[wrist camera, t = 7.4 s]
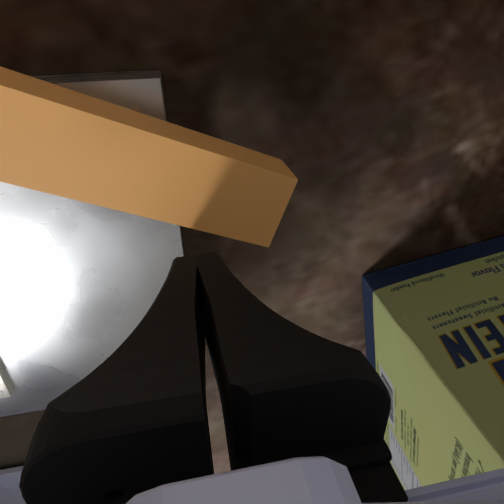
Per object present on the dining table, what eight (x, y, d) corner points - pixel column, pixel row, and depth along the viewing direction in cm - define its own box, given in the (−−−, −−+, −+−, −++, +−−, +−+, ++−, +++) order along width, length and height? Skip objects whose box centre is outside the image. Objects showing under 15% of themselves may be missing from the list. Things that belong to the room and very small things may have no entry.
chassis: (196, 348, 22) (200, 389, 19) (-21, 381, 20) (-46, 430, 18) (160, 69, 15) (159, 79, 12) (-182, 85, 13) (-262, 100, 10)
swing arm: (288, 142, 13) (306, 160, 12) (250, 234, 15) (261, 262, 13) (-391, -95, 8) (-541, -126, 6) (-342, 84, 10) (-452, 98, 8)
